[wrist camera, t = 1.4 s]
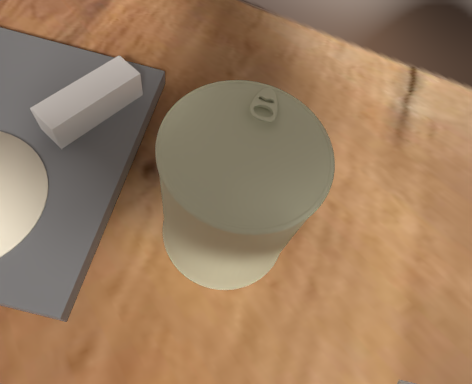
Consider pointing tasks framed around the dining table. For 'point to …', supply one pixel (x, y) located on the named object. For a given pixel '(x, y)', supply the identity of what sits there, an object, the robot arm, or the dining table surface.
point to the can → (238, 179)
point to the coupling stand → (62, 162)
